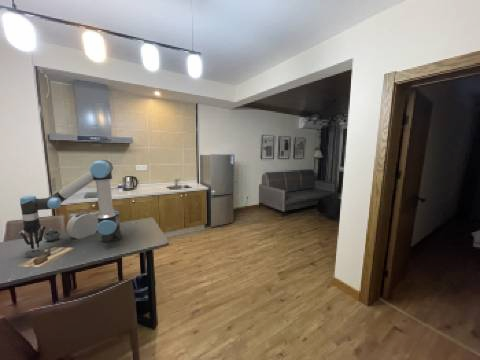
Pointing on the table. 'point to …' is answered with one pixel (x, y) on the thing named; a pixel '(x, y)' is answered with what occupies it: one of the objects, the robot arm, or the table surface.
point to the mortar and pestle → (51, 235)
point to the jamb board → (53, 255)
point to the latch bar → (38, 253)
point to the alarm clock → (82, 225)
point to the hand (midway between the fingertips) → (35, 252)
